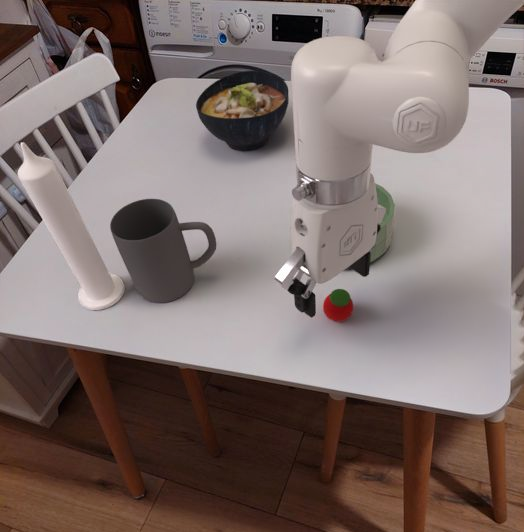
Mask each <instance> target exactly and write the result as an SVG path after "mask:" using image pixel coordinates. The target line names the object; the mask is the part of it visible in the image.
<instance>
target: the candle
mask: <svg viewBox="0 0 524 532" xmlns="http://www.w3.org/2000/svg"><path fill="white" fill-rule="evenodd" d="M20 148H21V152H22V156H23V161H22V164H21V165H20V167H19V168H18V170H17V177H18V179H19V181H20V183H21V185H22V186H23V188H24V191H26V193H27V195H28V196H29V198H30V200H31V202H32V203H33V205H34V207H35V209H36V210H37V212H38V214H39V216H40V217H41V219H42V221H43V223H44V224H45V226H46V228H47V230H48V231H49V233H50V235H51V237H52V238H53V240H54V242H55V244H56V246H57V247H58V249H59V251H60V252H61V254H62V256H63V257H64V259H65V261H66V263H67V265H68V267H69V268H70V270H71V272H72V274H73V276H74V277H75V279H76V280H77V282H78V284H79V285H80V288H79V290H78V294H77V299H78V301H79V303H80V305H81V306H82V307H83V308H85V309H87V310H91V311H100V310H105V309H108V308H110V307H112V306H113V305H115V304H116V303H118V302H119V301H120V299H121V298H122V297H123V296H124V293H125V289H126V288H125V283H124V281H123V279H122V278H121V277H120V276H119V275H116V274H112V273H110V272H109V270H108V268H107V266H106V264H105V262H104V260H103V258H102V256H101V254H100V252H99V250H98V248H97V246H96V244H95V242H94V240H93V238H92V236H91V233H90V232H89V230H88V228H87V226H86V224H85V221H84V220H83V218H82V216H81V214H80V212H79V209H78V208H77V205H76V203H75V202H74V199H73V197H72V195H71V194H70V191H69V189H68V187H67V186H66V185H67V184H66V183H65V181H64V179H63V177H62V175H61V173H60V171H59V169H58V167H57V164H56V163H55V162H54V161H53V160H52V159H51V158H48V157H45V156H39V155H36V154H35V153H34V152H33V151H32V150H31V149H30V147H29V146H28V145H27V143H26V142H20Z"/></svg>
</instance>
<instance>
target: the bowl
mask: <svg viewBox="0 0 524 532" xmlns="http://www.w3.org/2000/svg"><path fill="white" fill-rule="evenodd" d="M289 99H290V98H289V86H288V84H287V82H286V81H285V80H284V79H283V78H281V76H279V75H277V74H276V73H272V72H269V71H262V70H245V71H243V70H242V71H237V72H233V73H230V74H228V75H226V76H223V77H221V78H219V79H217V80H216V81H214V82H213V83H211V84H210V85H209V86H207V87H206V88H205V89H204V90H203V91H202V92H201V94H199V96H198V97H197V100H196V102H195V108H196V112H197V115H198V119H199V120H200V121H201V123H202V124H203V126H204V127H205V129H207V130H208V132H209V133H210V134H212V135H213V136H214V137H216V138H217V139H218V140H220V141H222V142H224V143H225V144H226V145H227V146H228V147H229V148H230V149H231V150H234V151H238V152H248V151H254V150H257V149H259V148H261V147H264V146H265V145H266V144H268V142H269V141H270V138H271V136H272V134H273V133H274V132H275V131H277V129H278V127H279V126H280V125H281V123H282V121H283V119H284V118H285V116H286V113H287V109H288V107H289V104H290V103H289Z"/></svg>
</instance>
